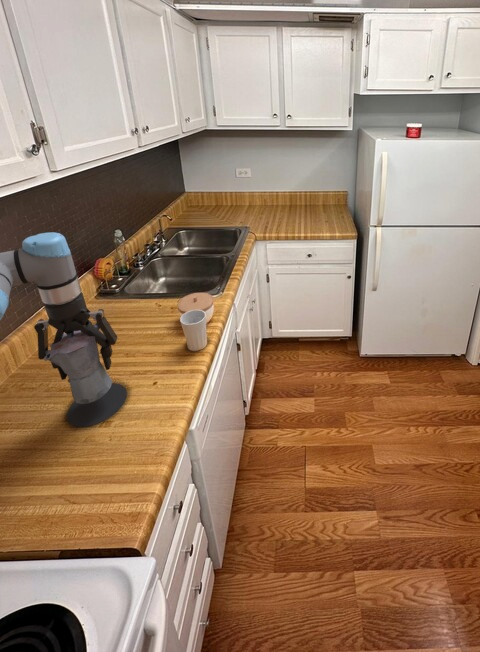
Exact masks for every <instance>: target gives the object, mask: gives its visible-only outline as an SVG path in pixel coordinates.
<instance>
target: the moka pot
mask: <svg viewBox="0 0 480 652" xmlns="http://www.w3.org/2000/svg"><path fill="white" fill-rule="evenodd" d="M92 325H93V326H95V327H96V328H97V329H98V330H99V331H100V330H101V329H100V328H99V326H98V324H97V322H96V323H95V324H92ZM49 348H50V349H49V350H50V351H49V352H48V353H47V354H46V356H45V358H44V359H43V360H44V361H45V362H47V361H49V362H50V363H51V362H53V363H54V364H56V365H58V366H60V367H61V368H62V370H63V371H64V372H65V374H67V377H68V379H67V383H69V386H70V390H71V395H72V398H73V400H74V401H75V402H76V403H79V404H87V403H90V402H93V401H96V400H98V399H99V398H101V397H102V396H103V395H104V394H106V393H107V392H108V391H109V389H110V388H111V385H112V383H113V380H112V379H111V376H110V375H109V373H108V371H107V370H106V368H105V366H104V365H103V364H102V362H101V360H100V355H101V352H99V347H98V343H97V342H96V341H95V336H88V335H87V334H86V333H82V332H81V331H68V332H66V333H65V332H64V334H63V337H62V338H61V340H60V342H57V343H55V344H53V342H52V343H51V344H50V347H49Z"/></svg>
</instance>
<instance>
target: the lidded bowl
mask: <svg viewBox="0 0 480 652" xmlns="http://www.w3.org/2000/svg"><path fill="white" fill-rule="evenodd" d="M214 302H215V300H214V296H213V295H212V294H210V293H207V292H194V293H190V294H187V295H185V296H184V297H182V298H181V299H180V300H179V301H178V302H177V310H178V314H179V317H180V318H181V316H182V315H183V314H184V313H186V312H188V311H191V310H202V311H204V312H205V313H206V324H208V323H209V322H210V321H211V319H212V318H213V315H214V311H215V304H214Z"/></svg>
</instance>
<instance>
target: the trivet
mask: <svg viewBox="0 0 480 652" xmlns="http://www.w3.org/2000/svg"><path fill="white" fill-rule="evenodd" d="M127 399H128V391H127V389H126V387H125V386H124V385H122V384H121V383H116V382H112V385H111V388H110V389H109V391H108V392H107V393H106V394H104V395H103V396H102V397H101V398H99V399H98V400H96V401H93V402H90V403H87V404H79V403H76V402H75V400H74V401H73V402H72V403H71V404H70V406H69V408H68V410H67V412H66V420H67V423H68V424H69V425H70V426H72V427H75V428H88V427H89V428H90V427H93V426H96V425H99V424H101V423H103V422H105V421H107V420H108V419H110V418H112V417H113V416H114V415H115V414H117V412H119V411H120V410H121V408H122V407H123V406H124V404H125V403H126V400H127Z"/></svg>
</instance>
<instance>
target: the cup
mask: <svg viewBox="0 0 480 652" xmlns="http://www.w3.org/2000/svg"><path fill="white" fill-rule="evenodd" d="M179 323H180V325H181V328H182V331H183V335H184V338H185V342H186V345H187V349H188V350H189V351H193V352H196V351H199V350H203V349H204V348H206V346H207V344H208V335H207V333H208V332H207V323H206V313H205V312H204V311H202V310H191V311H188V312H186V313H184V314H183V315H182V316H181V317H180V318H179Z"/></svg>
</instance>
